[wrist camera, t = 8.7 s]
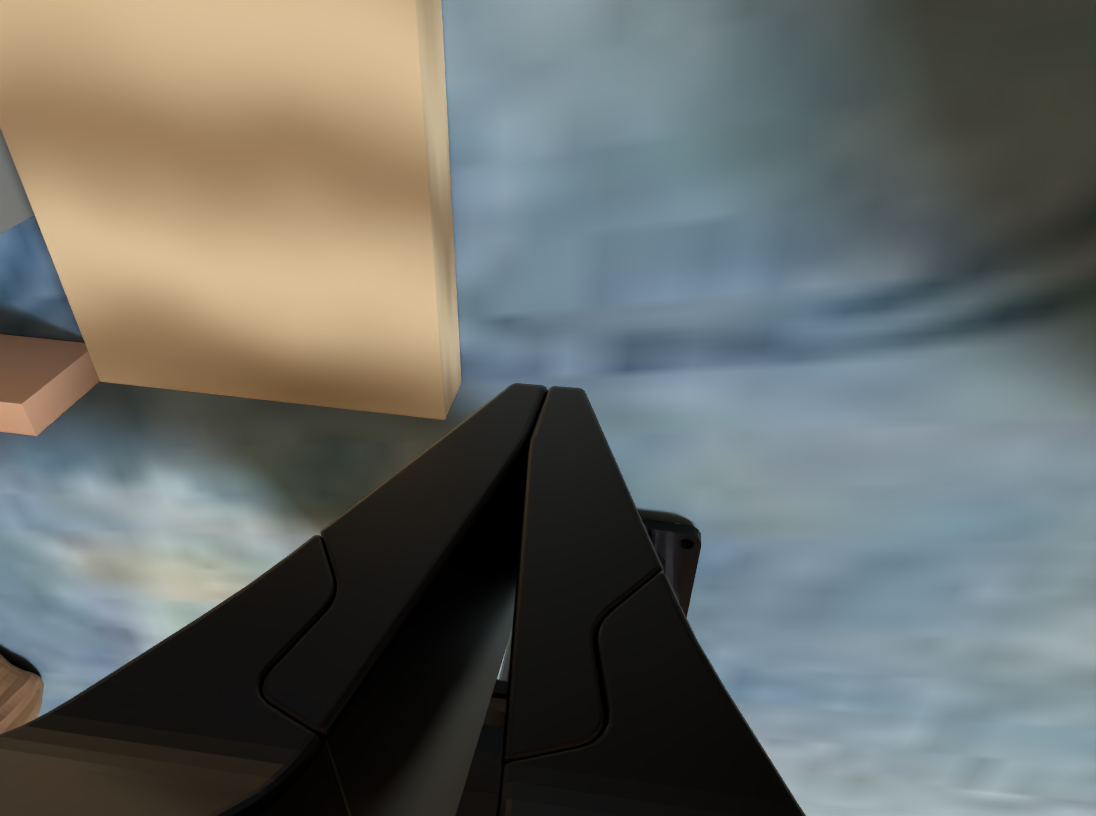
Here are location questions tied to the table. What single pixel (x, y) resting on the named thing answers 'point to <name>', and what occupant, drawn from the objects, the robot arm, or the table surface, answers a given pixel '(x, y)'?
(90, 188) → the bench board
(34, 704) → the cupcake
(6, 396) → the fence
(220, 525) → the table surface
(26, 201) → the grey square block
